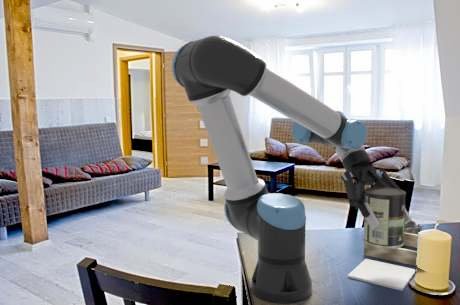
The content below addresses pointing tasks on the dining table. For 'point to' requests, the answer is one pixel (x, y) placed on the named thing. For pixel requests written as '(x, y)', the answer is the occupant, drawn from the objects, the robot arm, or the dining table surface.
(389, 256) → the crate frame
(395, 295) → the dining table surface
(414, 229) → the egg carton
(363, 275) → the ceramic tile
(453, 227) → the dining table surface
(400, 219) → the coffee can
